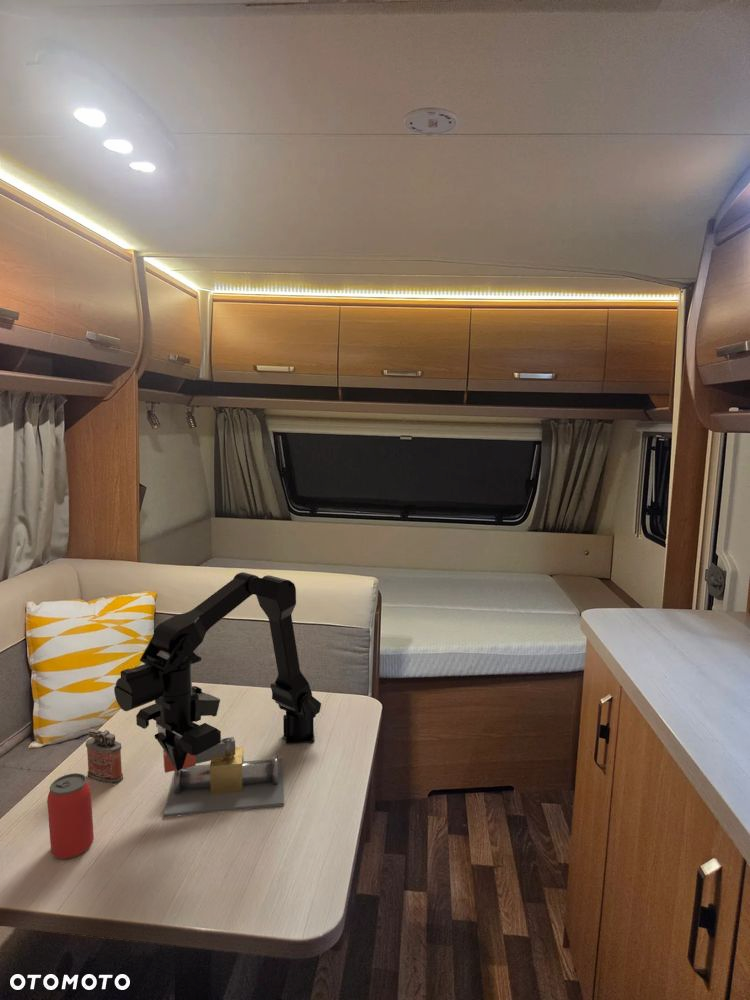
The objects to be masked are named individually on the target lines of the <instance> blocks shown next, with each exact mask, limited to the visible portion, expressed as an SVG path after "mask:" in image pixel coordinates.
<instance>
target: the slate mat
mask: <svg viewBox="0 0 750 1000" xmlns="http://www.w3.org/2000/svg"><path fill="white" fill-rule="evenodd" d="M268 760H273V758H270V759H269V758H268V759H257V760H256V759H255V760H254V759H253V760H245V761H244V762H256V761H268ZM209 765H210V764H196V766H192V767H197V766H209ZM284 792H285V790H284V758H283V757H280V758H279V757H278V785H273V782H265V783H254V784H243V790H242V792H237V793H226V794H215V795H211V787H209V788H198V789H187V790H181V793H180V794H175V793H174V778H173V779H172V783H171V786H170V790H169V794H168V797H167V801H166V804H165V808H164V811H163V818H169V817H168V816H172V817H179V816H178V815H182V816H190V815H192V816H193V815H202V814H212V813H221V812H223V813H224V812H232V811H241V810H253V809H262V808H273V807H282V806H283V807H284V806H285V797H284V795H285V793H284Z"/></svg>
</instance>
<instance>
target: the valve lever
mask: <svg viewBox="0 0 750 1000" xmlns="http://www.w3.org/2000/svg"><path fill="white" fill-rule="evenodd" d="M235 747H236V740H235V738H234V736H231V737H224V738H221V743H219V744H217V745H215V746H213V747H212V748H210V749H208V750H206V751H204V752H202V753H200V754H198V755H190V754H189V753H187V756H186V759H185V762H184V765H183V768H182V769H184V768H188V767H192V766H196V765H198V764H201V763H207V762H209V761H210V762H211V760H215V759H219V758H223V757H230V756H232V755H235ZM162 755H163V756H162V757H163V769H164V773H166V774H167V773H170V772H175V770H176V769H175V767H174V765H173V764H172V762H171V761H170V759H169V757H168V756H167V754H166V752H165V751H164V749H163V750H162Z"/></svg>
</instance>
